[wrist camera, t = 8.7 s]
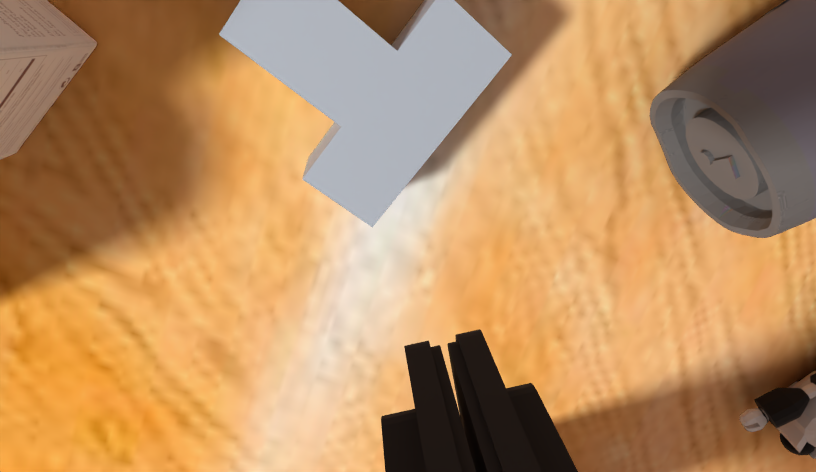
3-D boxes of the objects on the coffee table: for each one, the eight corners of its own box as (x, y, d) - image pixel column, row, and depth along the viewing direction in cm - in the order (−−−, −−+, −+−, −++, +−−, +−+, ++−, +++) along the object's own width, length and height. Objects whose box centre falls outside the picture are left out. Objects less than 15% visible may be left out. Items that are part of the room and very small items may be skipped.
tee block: (487, 50, 25) (511, 54, 21) (368, 200, 27) (372, 227, 24) (324, -101, 22) (320, -127, 18) (205, 84, 24) (180, 95, 20)
